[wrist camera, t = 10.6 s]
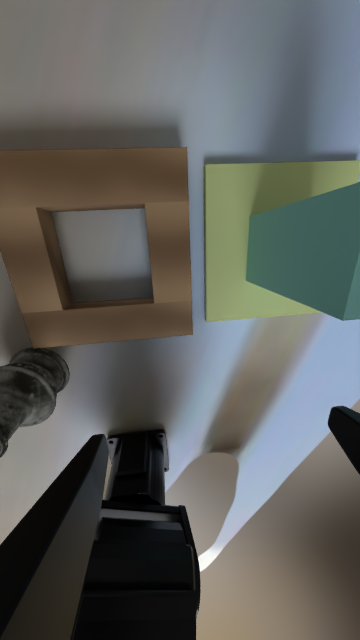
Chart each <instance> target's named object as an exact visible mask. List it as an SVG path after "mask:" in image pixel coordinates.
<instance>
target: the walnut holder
mask: <svg viewBox="0 0 360 640" xmlns="http://www.w3.org/2000/svg"><path fill="white" fill-rule="evenodd" d="M135 208H145V214H146V224H147V234H148V244H149V255H150V265H151V275H152V285H153V296H154V297H153V298H139V299H125V300H111V301H98V302H84V303H73V302H72V298H71V293H70V289H69V285H68V281H67V277H66V273H65V269H64V264H63V260H62V256H61V252H60V248H59V244H58V240H57V235H56V231H55V227H54V223H53V219H52V215H51V212H60V211H85V210H110V209H135ZM0 251H1V254H2V257H3V260H4V263H5V266H6V269H7V272H8V275H9V278H10V281H11V284H12V287H13V290H14V293H15V296H16V299H17V302H18V304H19V307H20V310H21V313H22V316H23V319H24V322H25V325H26V328H27V331H28V334H29V337H30V340H31V343H32V346H33V349H34V348H45V347H57V346H68V345H80V344H91V343H103V342H114V341H126V340H137V339H149V338H160V337H172V336H183V335H193V324H192V292H191V260H190V228H189V196H188V164H187V147H172V148H119V149H66V150H13V151H0Z"/></svg>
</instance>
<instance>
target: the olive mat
mask: <svg viewBox="0 0 360 640" xmlns="http://www.w3.org/2000/svg"><path fill="white" fill-rule="evenodd" d="M359 174H360V160H358V161H318V162H278V163H239V164H206V165H205V166H204V242H205V320H206V322H212V321H224V320H237V319H249V318H261V317H273V316H285V315H297V314H309V313H321V311H318V310H316V309H313V308H311V307H308V306H306V305H304V304H301V303H299V302H296V301H294V300H291V299H289V298H286V297H284V296H282V295H279V294H277V293H274V292H272V291H269V290H267V289H264V288H262V287H260V286H257V285H255V284H252V283H250V282H247V281H246V267H247V251H248V234H249V218H250V216H253V215H256V214H260V213H263V212H266V211H269V210H272V209H275V208H279V207H282V206H285V205H288V204H291V203H294V202H298V201H301V200H304V199H307V198H310V197H313V196H317V195H320V194H323V193H326V192H329V191H333V190H336V189H339V188H342V187H345V186H348V185H352V184H355V183H358V179H359Z"/></svg>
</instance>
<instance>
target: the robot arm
mask: <svg viewBox="0 0 360 640" xmlns="http://www.w3.org/2000/svg"><path fill="white" fill-rule="evenodd" d="M328 426H329V428H330V430H331V432H332V433H333V435H334V436H335V438H336V440H337V441H338V442H339V444H340V446H341V447H342V449H343V450H344V452H345V453H346V455H347V457H348V458H349V460H350V461H351V463H352V464H353V466H354V467H355V469H356V470H357V472H358V473H359V474H360V413H358V412H355V411H353V410H351V409H349V408H347V407H345V406H336V407H332V409H331V411H330V415H329V419H328ZM160 434H162V435H160ZM111 440H112V441H111ZM108 455H110V459H111V464H112V467H111V472H110V476H109V481H108V486H107V490H106V495H105V500H102V498H103V491H104V484H105V477H106V470H107V463H108ZM168 470H169V463H168V453H167V443H166V433H165V431H164V430H154V431H145V432H137V433H129V434H120V435H112V436H109V437H108V438H107V441H106V437H105V435H104V434H97V435H93V436H92V437H91V438H90V439H89V440H88V441H87V442H86V444H85V445H84V446H83V447H82V448H81V450H80V451H79V452H78V453H77V454H76V456H75V457H74V458H73V459H72V460H71V461H70V463H69V464H68V465H67V466H66V467H65V469H64V470H63V471H62V472H61V473H60V475H59V476H58V477H57V478H56V479H55V480H54V482H53V483H52V484H51V485H50V486H49V488H48V489H47V490H46V491H45V492H44V494H43V495H42V496H41V497H40V498H39V500H38V501H37V502H36V503H35V504H34V505H33V507H32V508H31V509H30V510H29V511H28V513H27V514H26V515H25V516H24V517H23V519H22V520H21V521H20V522H19V523H18V524H17V526H16V527H15V528H14V529H13V530H12V532H11V533H10V534H9V535H8V536H7V538H6V539H5V540H4V541H3V542H2V543H1V545H0V640H196V618H197V614H198V610H199V603H200V570H199V562H198V557H197V552H196V548H195V544H194V540H193V536H192V533H191V528H190V524H189V520H188V516H187V512H186V508H185V506H182V505H179V506H169V505H165V479H164V472H167V471H168Z"/></svg>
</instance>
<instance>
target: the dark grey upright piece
mask: <svg viewBox="0 0 360 640" xmlns="http://www.w3.org/2000/svg"><path fill="white" fill-rule="evenodd" d="M68 381H69V369H68V366H67V365H66V363H65V361H64V360H63V359H62V358H61V357H60V356H58V355H57V354H55V353H54V352H52V351H49V350H46V349H42V348H34V349H33V348H28V349H25V350H22V351H20V352H18V353H17V354H15V355H14V356H13V358H12V359H11V360H10V364H8V365H5V366H1V367H0V457H2V456H3V455H4V453H5V452H6V450H7V448H8V440H9V439H10V438H11V436H12V435H13V434H14V432H15V431H16V430H17V428H18V427H27V426H33V425H36V424H39V423H41V422H43V421H45V420H46V419H48V417H49V416H50V415H51V414H52V413H53V411H54V409H55V406H56V397H57V393H58V392H60V391H61V390H63V388H64V387H65V386H66V385H67V383H68Z"/></svg>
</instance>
